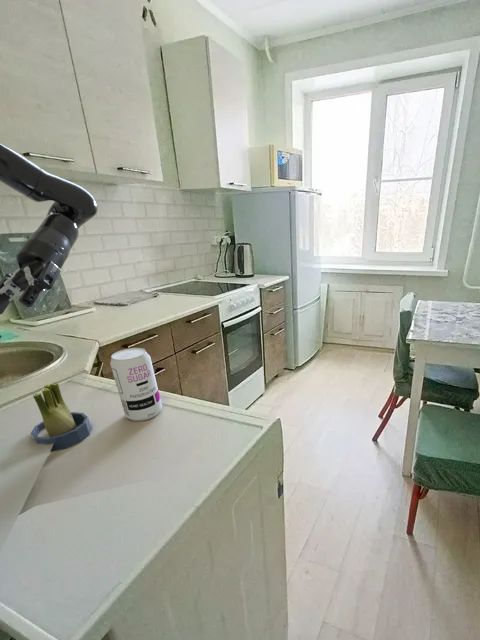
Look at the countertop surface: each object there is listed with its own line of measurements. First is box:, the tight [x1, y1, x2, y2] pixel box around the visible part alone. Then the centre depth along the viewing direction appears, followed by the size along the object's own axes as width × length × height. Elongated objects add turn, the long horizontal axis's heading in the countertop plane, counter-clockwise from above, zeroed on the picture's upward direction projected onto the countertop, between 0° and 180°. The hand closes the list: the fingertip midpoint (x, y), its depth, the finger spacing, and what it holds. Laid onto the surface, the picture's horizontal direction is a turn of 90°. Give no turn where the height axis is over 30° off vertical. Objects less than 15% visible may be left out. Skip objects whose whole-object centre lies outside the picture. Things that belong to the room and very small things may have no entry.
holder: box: [30, 411, 93, 453], centre depth 75 cm, size 10×10×3 cm
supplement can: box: [109, 347, 163, 422], centre depth 79 cm, size 8×8×15 cm
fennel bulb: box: [32, 382, 78, 437], centre depth 73 cm, size 6×5×12 cm
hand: (9, 308), depth 69 cm, fingers open, 8 cm apart
